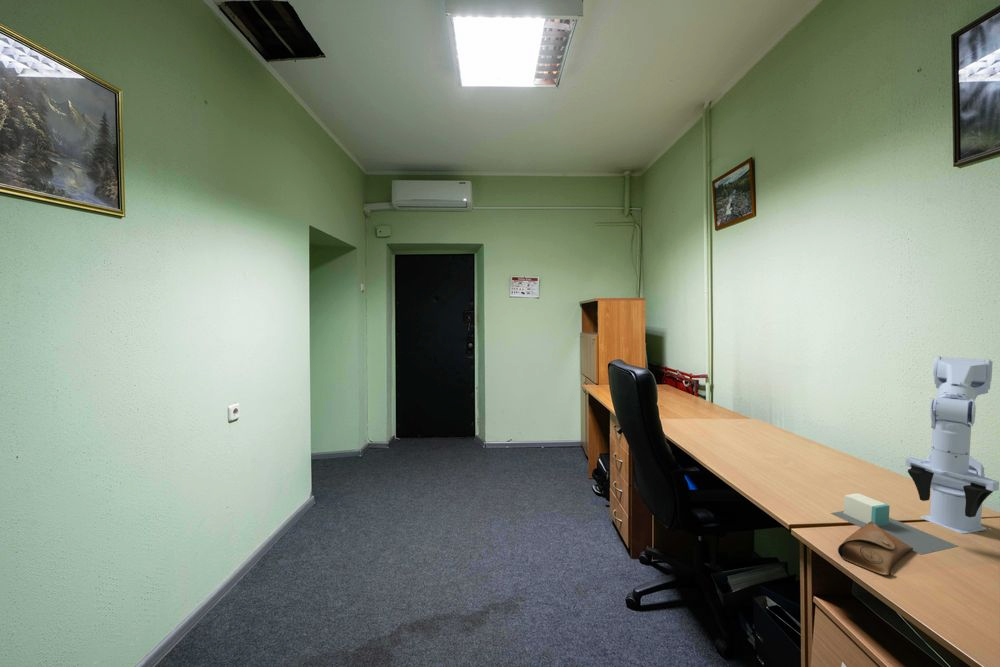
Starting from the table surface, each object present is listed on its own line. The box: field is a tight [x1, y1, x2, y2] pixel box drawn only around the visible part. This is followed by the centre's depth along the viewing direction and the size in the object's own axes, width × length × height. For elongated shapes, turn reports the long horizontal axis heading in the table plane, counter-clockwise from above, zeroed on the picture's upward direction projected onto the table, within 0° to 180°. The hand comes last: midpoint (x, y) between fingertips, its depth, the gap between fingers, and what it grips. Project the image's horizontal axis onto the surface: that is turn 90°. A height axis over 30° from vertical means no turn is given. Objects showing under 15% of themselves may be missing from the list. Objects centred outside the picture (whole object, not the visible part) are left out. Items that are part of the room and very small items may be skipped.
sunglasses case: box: [837, 521, 914, 576], centre depth 86 cm, size 18×7×7 cm, turn 121°
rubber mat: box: [830, 510, 959, 556], centre depth 96 cm, size 13×18×1 cm
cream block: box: [843, 492, 890, 526], centre depth 100 cm, size 5×5×7 cm
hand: (946, 507), depth 88 cm, fingers open, 7 cm apart
